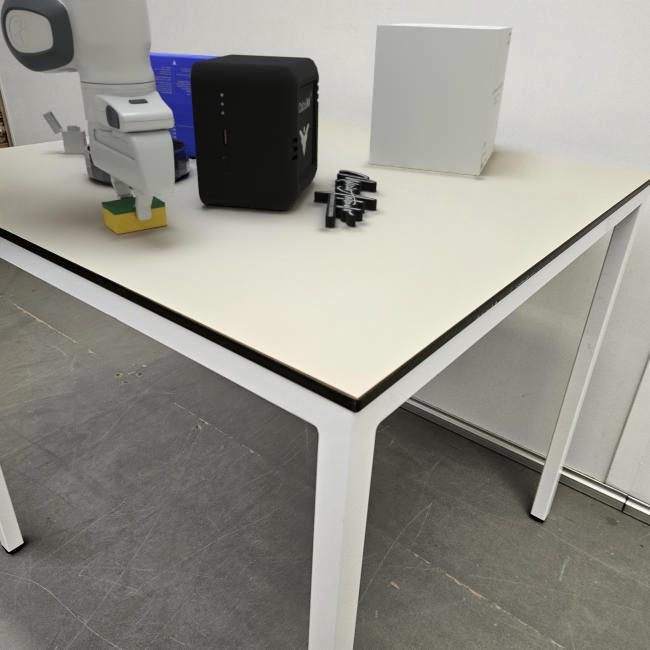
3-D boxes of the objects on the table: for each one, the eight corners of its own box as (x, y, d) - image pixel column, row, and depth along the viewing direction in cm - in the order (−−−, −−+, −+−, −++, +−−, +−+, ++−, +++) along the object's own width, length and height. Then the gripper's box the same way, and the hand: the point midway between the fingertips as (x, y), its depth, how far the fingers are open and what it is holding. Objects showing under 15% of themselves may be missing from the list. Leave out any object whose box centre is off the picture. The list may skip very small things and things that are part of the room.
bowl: (109, 193, 96) (104, 161, 94) (75, 171, 108) (70, 142, 106) (206, 179, 105) (204, 149, 103) (165, 159, 117) (162, 133, 115)
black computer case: (293, 216, 88) (294, 67, 78) (198, 208, 90) (188, 62, 81) (319, 181, 105) (322, 57, 96) (239, 175, 108) (234, 53, 98)
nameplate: (319, 169, 107) (375, 170, 107) (318, 177, 108) (374, 179, 108) (309, 216, 83) (381, 218, 83) (309, 226, 84) (381, 229, 83)
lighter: (88, 151, 122) (82, 110, 118) (86, 153, 120) (79, 111, 116) (52, 151, 121) (44, 110, 117) (49, 153, 119) (41, 111, 116)
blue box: (287, 161, 118) (286, 59, 110) (263, 170, 112) (261, 61, 103) (136, 139, 134) (125, 48, 125) (108, 145, 127) (95, 50, 119)
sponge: (117, 234, 79) (113, 210, 77) (105, 225, 82) (101, 202, 81) (167, 225, 83) (165, 202, 81) (153, 216, 86) (151, 194, 84)
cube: (478, 175, 112) (499, 29, 101) (368, 163, 118) (376, 24, 107) (493, 150, 133) (512, 26, 122) (399, 141, 139) (408, 23, 128)
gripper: (69, 96, 81) (86, 198, 87) (126, 119, 66) (141, 238, 73) (116, 94, 84) (128, 191, 91) (179, 114, 70) (189, 229, 76)
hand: (134, 213), depth 82 cm, fingers closed on sponge, 4 cm apart
